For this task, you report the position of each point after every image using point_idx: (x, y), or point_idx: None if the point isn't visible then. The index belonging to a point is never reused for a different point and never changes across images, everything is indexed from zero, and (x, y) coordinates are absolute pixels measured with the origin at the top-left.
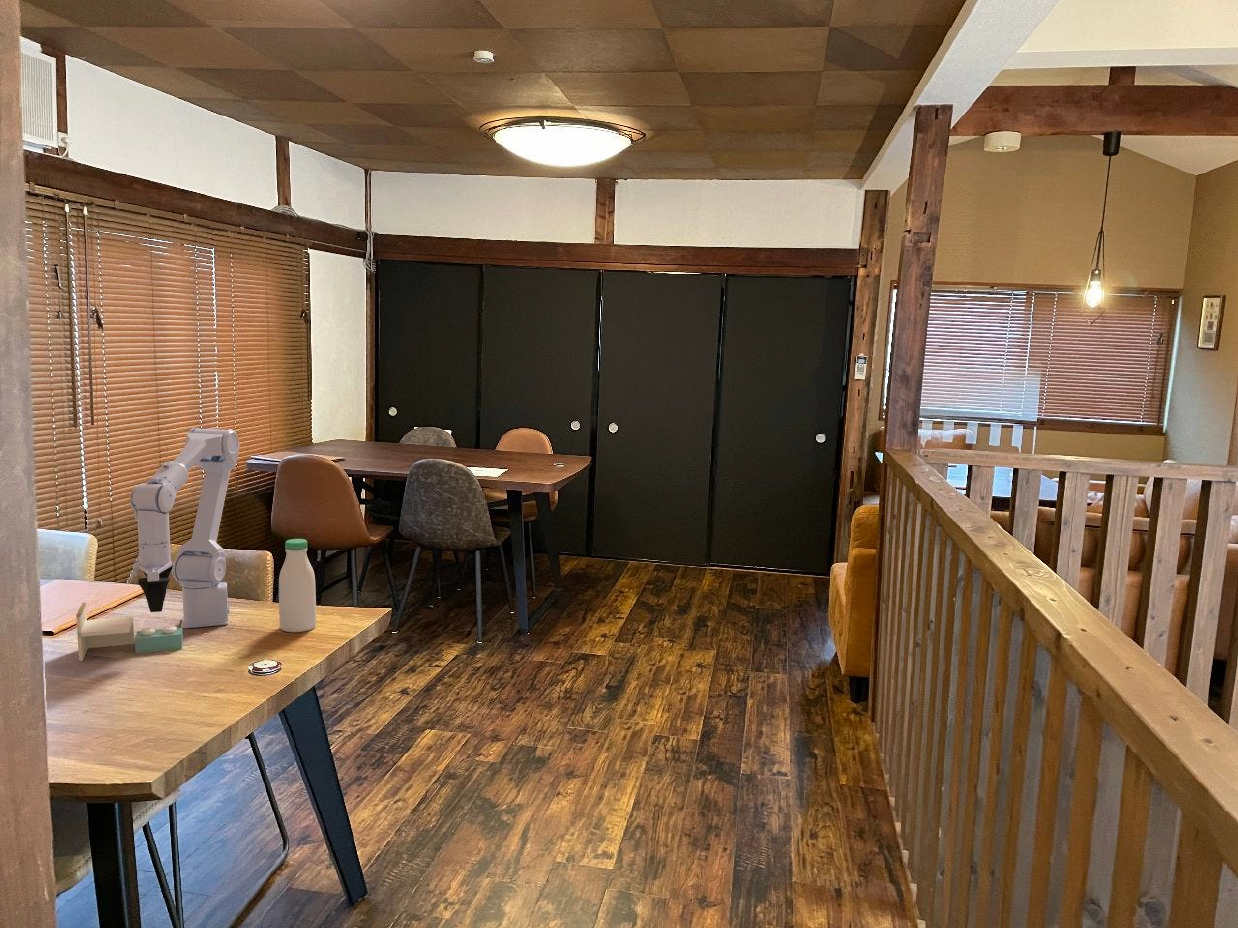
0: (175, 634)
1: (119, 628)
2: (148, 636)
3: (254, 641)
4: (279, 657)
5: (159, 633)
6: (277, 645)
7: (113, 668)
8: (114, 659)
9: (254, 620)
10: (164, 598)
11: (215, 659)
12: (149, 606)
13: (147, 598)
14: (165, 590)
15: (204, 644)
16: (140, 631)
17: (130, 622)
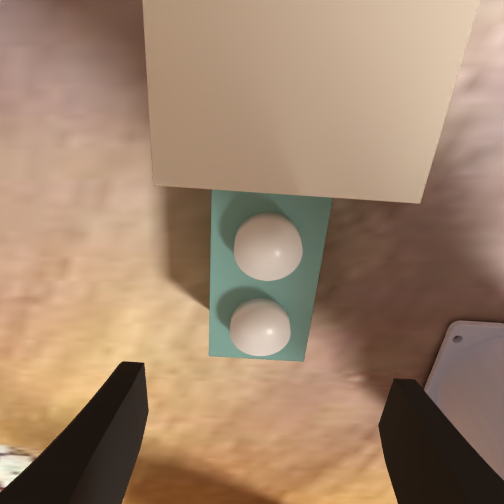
0: (213, 338)
1: (173, 126)
2: (225, 242)
3: (212, 469)
4: None
5: (253, 284)
6: (159, 500)
7: (28, 66)
8: None
9: None
10: (381, 437)
11: (75, 388)
12: (97, 394)
13: (40, 457)
14: (398, 501)
15: (235, 371)
16: (325, 207)
17: (288, 190)
